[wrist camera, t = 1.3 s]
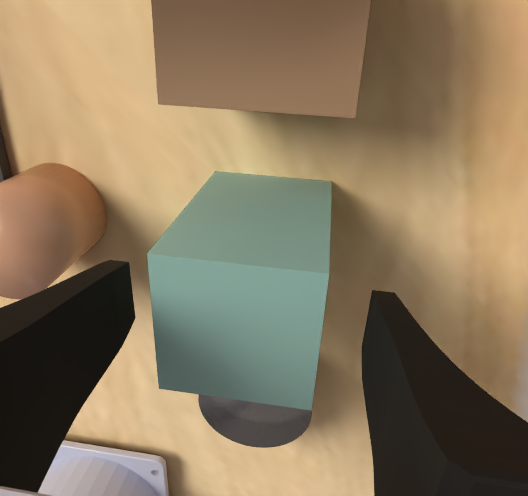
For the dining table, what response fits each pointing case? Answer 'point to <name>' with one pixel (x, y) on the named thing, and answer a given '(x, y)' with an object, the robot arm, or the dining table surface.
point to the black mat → (3, 161)
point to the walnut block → (261, 54)
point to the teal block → (243, 289)
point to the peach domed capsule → (45, 226)
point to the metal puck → (254, 421)
